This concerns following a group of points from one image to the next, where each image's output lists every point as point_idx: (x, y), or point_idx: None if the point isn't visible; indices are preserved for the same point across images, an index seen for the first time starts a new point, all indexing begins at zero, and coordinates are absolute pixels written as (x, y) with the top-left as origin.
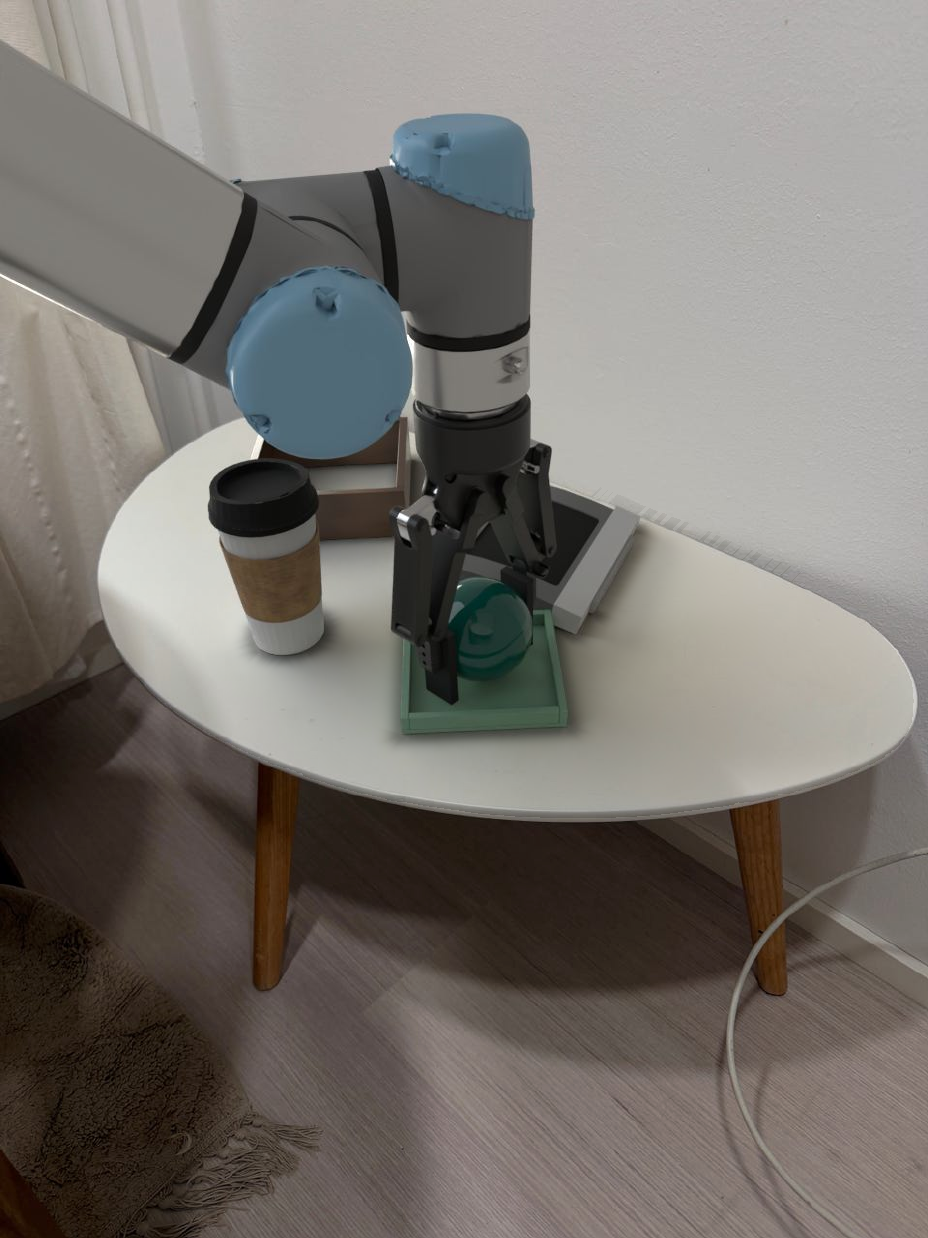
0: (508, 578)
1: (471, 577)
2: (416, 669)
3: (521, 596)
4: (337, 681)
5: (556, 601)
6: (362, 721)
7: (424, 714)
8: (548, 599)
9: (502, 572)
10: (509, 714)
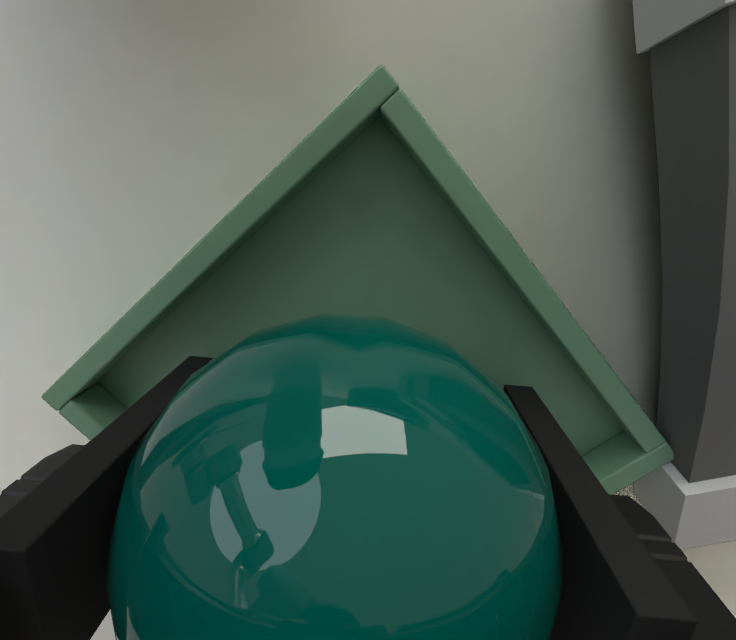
0: (604, 630)
1: (432, 599)
2: (249, 260)
3: (557, 620)
4: (65, 77)
5: (705, 494)
6: (31, 264)
7: (97, 433)
8: (708, 463)
9: (628, 615)
10: None
